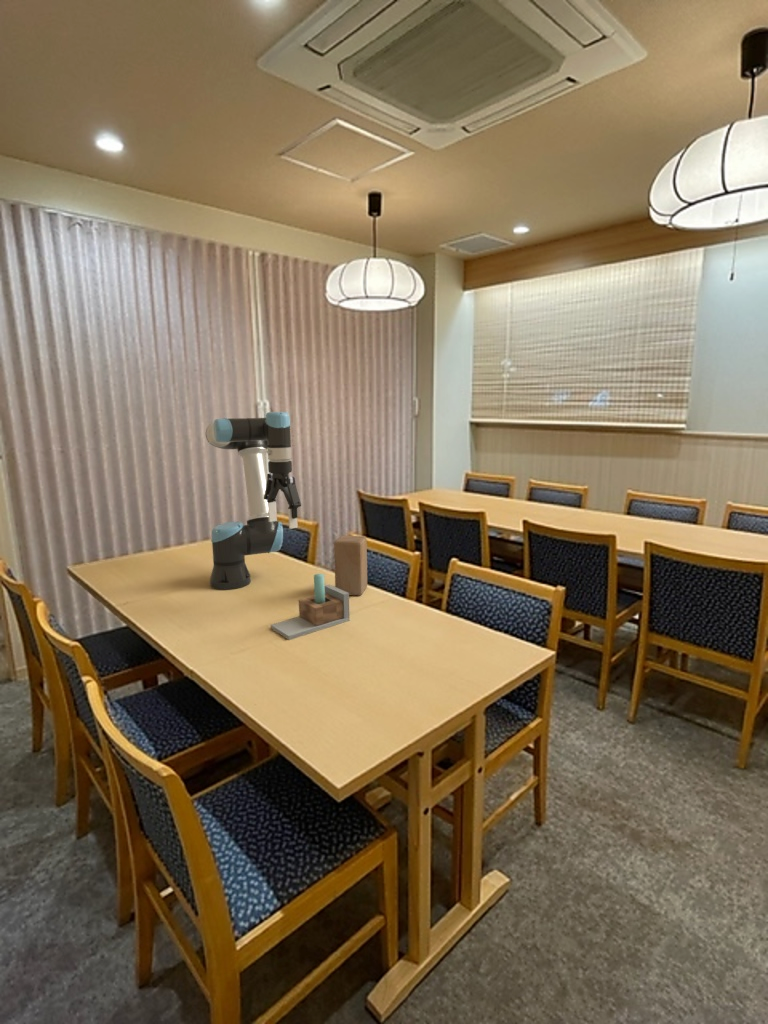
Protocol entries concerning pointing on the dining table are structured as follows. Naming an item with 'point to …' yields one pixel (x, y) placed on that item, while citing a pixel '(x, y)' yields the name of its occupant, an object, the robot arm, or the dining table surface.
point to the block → (351, 564)
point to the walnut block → (321, 609)
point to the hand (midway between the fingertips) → (282, 524)
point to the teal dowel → (319, 588)
